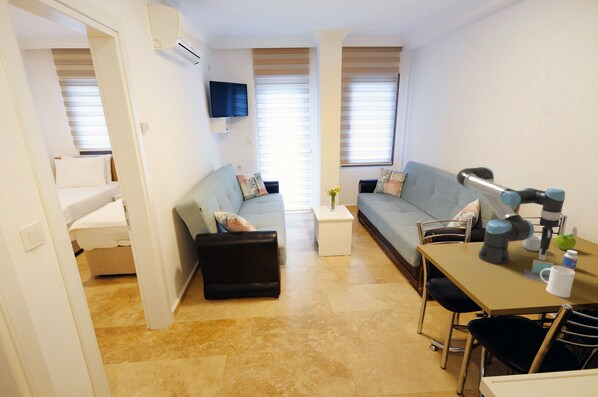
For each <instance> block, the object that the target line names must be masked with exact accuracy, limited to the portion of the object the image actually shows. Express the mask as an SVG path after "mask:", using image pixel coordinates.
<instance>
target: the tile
mask: <svg viewBox="0 0 598 397" xmlns="http://www.w3.org/2000/svg"><path fill="white" fill-rule="evenodd" d="M552 266H555V264H554V262H549V261H546V260H540V259H538V260H537V259H533V260H532V266H531V272H532V273H537V274H540V273H541V271H542V270H543V269H546V268H551V267H552ZM550 272H551V271H550V270H545V271H543V272H542V275H547V276H550Z"/></svg>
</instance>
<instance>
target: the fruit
mask: <svg viewBox="0 0 598 397" xmlns="http://www.w3.org/2000/svg"><path fill="white" fill-rule="evenodd" d="M575 236H576V235H575V234H572V233H569V235H568V234H559V235H557V236H556V237H555V240H554V242H555V244H556V246H557V248H558V249H561V250H563V251H567V250H573V248H574V247H575V246H576V244H577V240H576V239H575Z"/></svg>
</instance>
